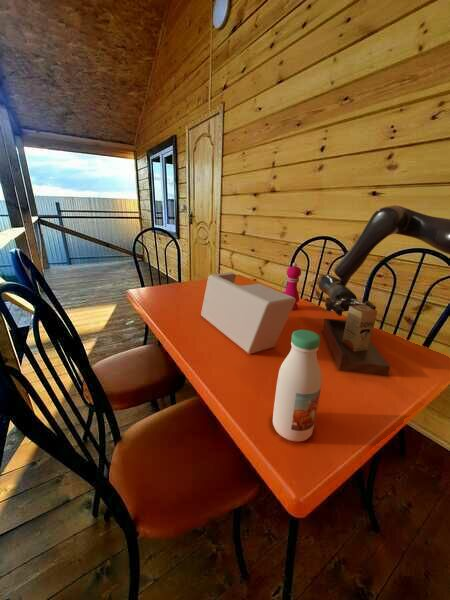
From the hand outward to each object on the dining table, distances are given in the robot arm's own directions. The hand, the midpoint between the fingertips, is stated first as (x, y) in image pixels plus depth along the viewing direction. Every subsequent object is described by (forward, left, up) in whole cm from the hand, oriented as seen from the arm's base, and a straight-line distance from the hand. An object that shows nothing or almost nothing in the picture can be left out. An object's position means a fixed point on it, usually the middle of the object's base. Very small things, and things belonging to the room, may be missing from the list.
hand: (356, 314), depth 76 cm
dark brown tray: (0, +1, -12) cm, 12 cm away
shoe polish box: (0, +4, -9) cm, 10 cm away
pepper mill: (+16, -33, -12) cm, 38 cm away
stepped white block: (+35, -2, -12) cm, 37 cm away
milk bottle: (+20, +35, -12) cm, 42 cm away
